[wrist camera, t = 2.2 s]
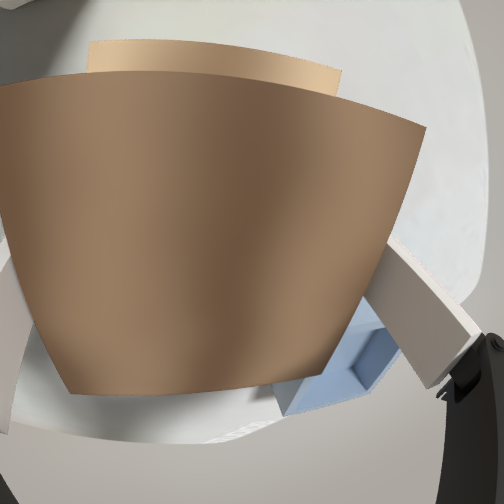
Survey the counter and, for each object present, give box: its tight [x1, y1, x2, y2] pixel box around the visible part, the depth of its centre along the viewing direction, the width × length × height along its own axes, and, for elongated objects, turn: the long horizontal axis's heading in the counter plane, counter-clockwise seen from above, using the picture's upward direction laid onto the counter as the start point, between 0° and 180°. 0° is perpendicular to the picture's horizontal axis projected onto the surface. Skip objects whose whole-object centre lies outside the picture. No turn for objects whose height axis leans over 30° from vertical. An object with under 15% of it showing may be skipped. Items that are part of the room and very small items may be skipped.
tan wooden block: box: [86, 39, 342, 97], centre depth 13 cm, size 8×14×4 cm, turn 170°
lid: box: [0, 71, 426, 396], centre depth 10 cm, size 12×12×2 cm
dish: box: [271, 297, 402, 417], centre depth 22 cm, size 9×11×4 cm
